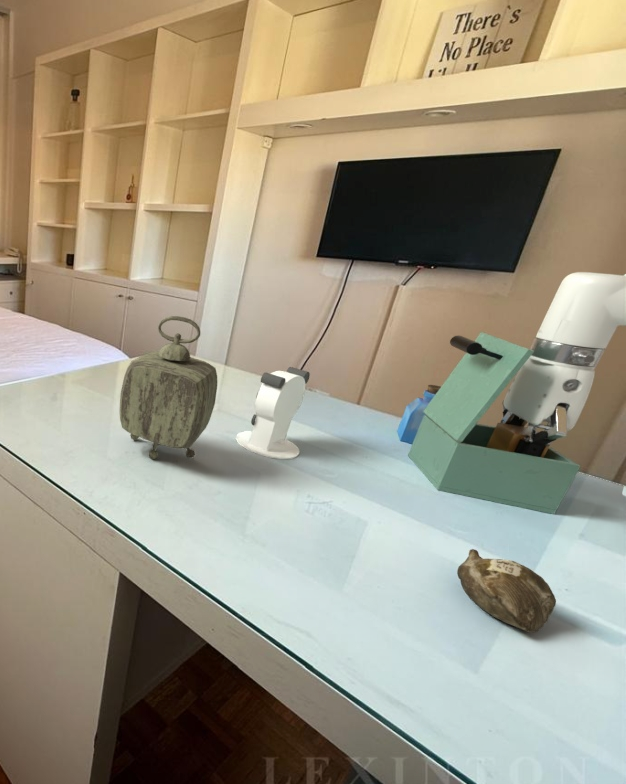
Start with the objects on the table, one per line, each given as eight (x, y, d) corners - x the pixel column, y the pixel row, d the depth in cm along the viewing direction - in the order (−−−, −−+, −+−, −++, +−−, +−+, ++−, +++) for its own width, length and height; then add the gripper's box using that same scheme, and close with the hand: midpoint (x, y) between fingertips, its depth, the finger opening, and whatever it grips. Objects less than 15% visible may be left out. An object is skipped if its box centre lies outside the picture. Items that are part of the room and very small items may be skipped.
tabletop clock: (202, 457, 82) (233, 321, 73) (188, 478, 75) (219, 329, 66) (128, 434, 89) (148, 307, 80) (108, 450, 82) (127, 313, 73)
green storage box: (506, 474, 84) (527, 432, 81) (554, 514, 72) (581, 466, 69) (407, 455, 89) (424, 414, 86) (437, 490, 77) (457, 443, 74)
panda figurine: (256, 427, 97) (274, 360, 92) (311, 449, 88) (334, 377, 83) (224, 439, 90) (241, 367, 85) (280, 464, 82) (303, 386, 76)
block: (520, 454, 79) (533, 428, 77) (538, 467, 75) (553, 440, 73) (485, 447, 81) (497, 422, 79) (501, 460, 76) (514, 433, 75)
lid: (486, 333, 79) (450, 321, 80) (534, 351, 67) (491, 337, 68) (427, 413, 86) (394, 401, 87) (461, 442, 74) (423, 427, 75)
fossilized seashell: (453, 546, 58) (437, 593, 53) (508, 526, 54) (497, 576, 48) (508, 597, 56) (498, 652, 50) (571, 581, 51) (568, 641, 45)
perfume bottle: (432, 439, 98) (453, 387, 94) (437, 449, 93) (460, 395, 89) (397, 431, 101) (416, 380, 97) (400, 440, 96) (421, 387, 92)
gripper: (640, 372, 63) (575, 486, 69) (557, 346, 78) (510, 440, 84) (570, 363, 65) (513, 474, 71) (503, 339, 80) (461, 432, 86)
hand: (512, 455), depth 78 cm, fingers closed on block, 5 cm apart
